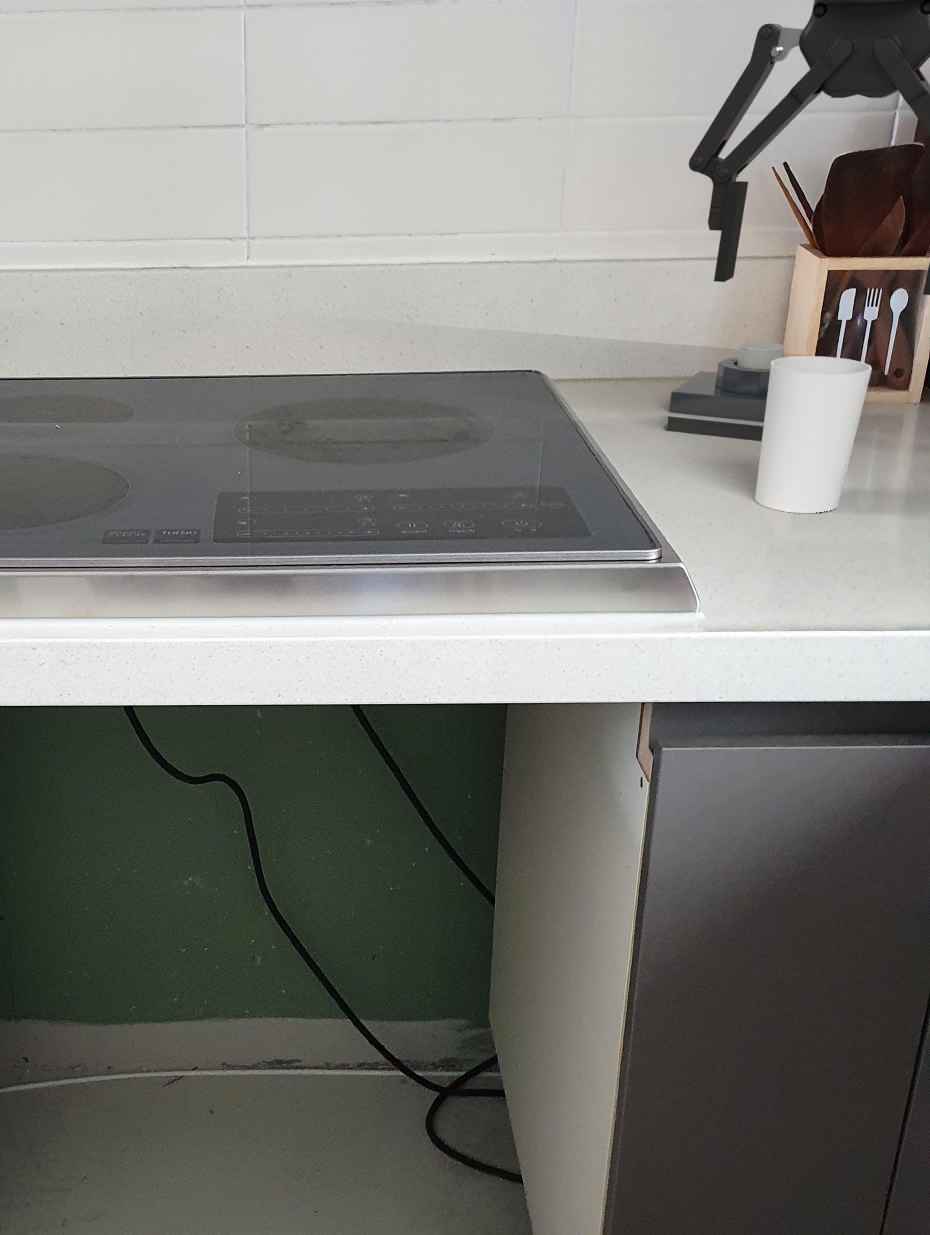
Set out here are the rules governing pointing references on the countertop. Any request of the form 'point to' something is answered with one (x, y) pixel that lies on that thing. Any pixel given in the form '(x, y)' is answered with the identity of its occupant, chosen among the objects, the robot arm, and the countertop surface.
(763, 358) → the pale grey short cylinder
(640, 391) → the countertop surface
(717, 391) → the push button base
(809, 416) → the white cup
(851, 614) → the countertop surface
